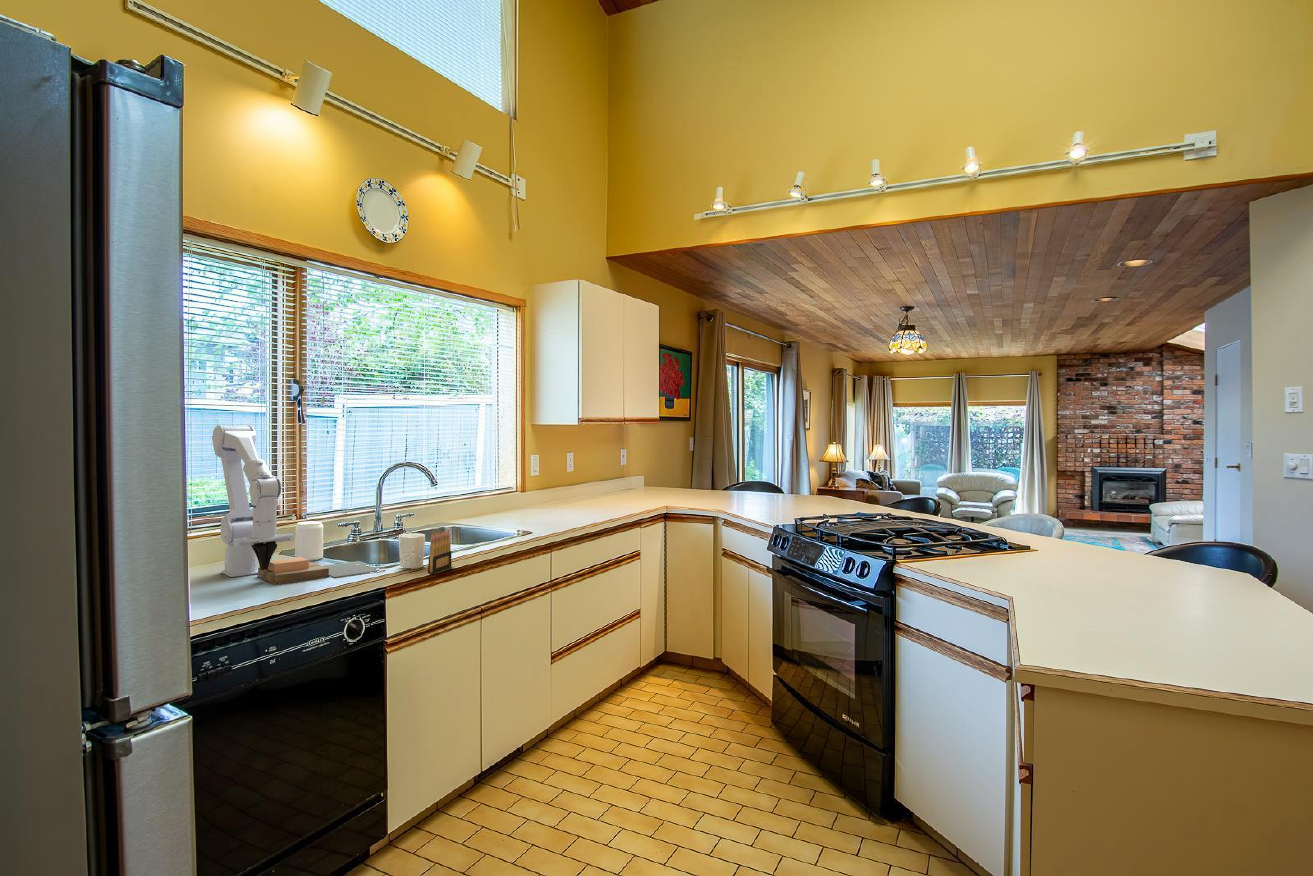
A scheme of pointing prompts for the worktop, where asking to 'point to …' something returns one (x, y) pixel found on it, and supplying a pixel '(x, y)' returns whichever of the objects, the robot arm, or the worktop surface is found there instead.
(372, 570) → the mat
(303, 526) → the beverage can
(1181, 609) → the worktop surface
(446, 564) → the ammunition clip
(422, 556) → the white cup
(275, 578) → the brown wooden flat slab
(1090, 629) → the worktop surface
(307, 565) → the tile
